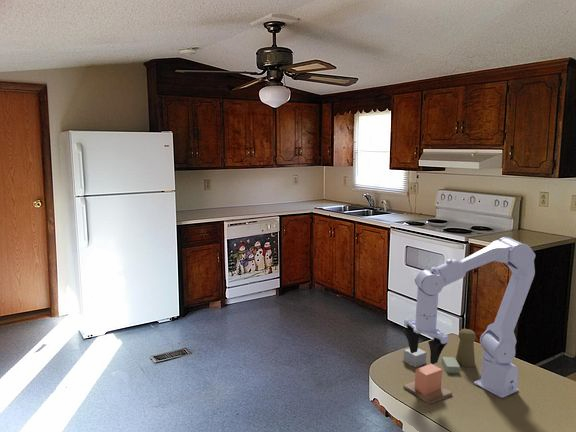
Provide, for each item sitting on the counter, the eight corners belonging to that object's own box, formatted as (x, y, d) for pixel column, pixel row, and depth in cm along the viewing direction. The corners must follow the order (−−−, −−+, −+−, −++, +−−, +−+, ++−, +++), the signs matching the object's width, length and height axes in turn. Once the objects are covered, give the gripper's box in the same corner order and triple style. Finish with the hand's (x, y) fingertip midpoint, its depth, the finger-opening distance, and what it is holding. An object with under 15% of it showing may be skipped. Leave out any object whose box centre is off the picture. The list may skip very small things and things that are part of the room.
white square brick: (425, 363, 153) (426, 352, 152) (415, 367, 150) (416, 356, 150) (414, 357, 157) (414, 346, 156) (403, 361, 154) (404, 350, 154)
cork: (471, 368, 150) (474, 336, 148) (452, 363, 153) (454, 331, 151) (477, 361, 154) (480, 329, 152) (458, 356, 158) (460, 325, 156)
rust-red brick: (440, 388, 136) (442, 369, 135) (425, 395, 133) (426, 375, 132) (430, 382, 140) (431, 363, 138) (414, 388, 136) (415, 369, 135)
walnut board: (452, 395, 134) (452, 392, 134) (429, 404, 130) (430, 401, 130) (425, 379, 143) (425, 377, 143) (403, 387, 138) (403, 385, 138)
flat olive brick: (459, 374, 147) (460, 366, 146) (446, 373, 147) (446, 366, 147) (454, 364, 153) (454, 357, 153) (441, 363, 153) (442, 356, 153)
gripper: (397, 307, 138) (395, 350, 141) (437, 324, 126) (433, 371, 128) (414, 303, 142) (412, 345, 144) (454, 319, 130) (451, 365, 132)
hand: (423, 357), depth 137 cm, fingers open, 7 cm apart
